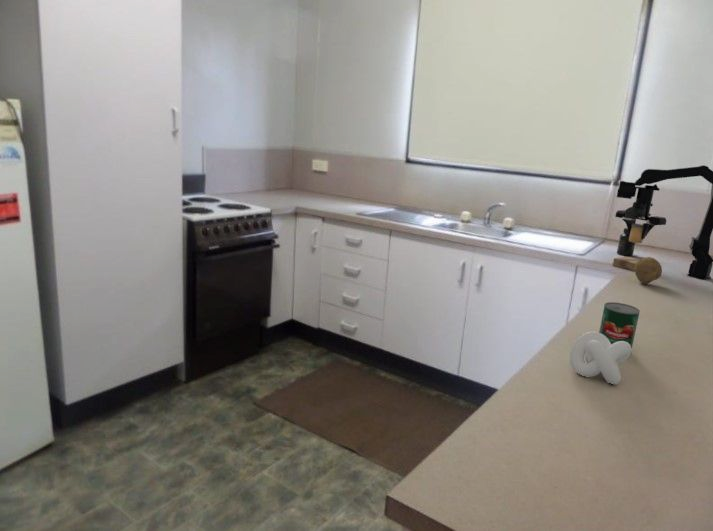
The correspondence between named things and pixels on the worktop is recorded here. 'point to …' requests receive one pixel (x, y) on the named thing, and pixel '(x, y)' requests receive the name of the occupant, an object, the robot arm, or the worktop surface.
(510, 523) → the worktop surface
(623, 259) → the walnut plinth
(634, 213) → the robot arm
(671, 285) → the worktop surface
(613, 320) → the canned tomato
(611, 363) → the white knot sculpture
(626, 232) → the supplement bottle
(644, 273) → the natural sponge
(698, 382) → the worktop surface
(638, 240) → the spice jar
